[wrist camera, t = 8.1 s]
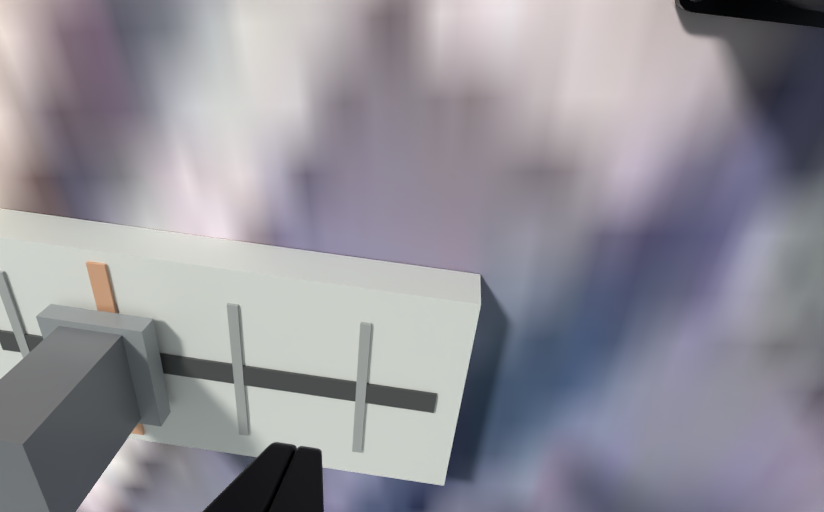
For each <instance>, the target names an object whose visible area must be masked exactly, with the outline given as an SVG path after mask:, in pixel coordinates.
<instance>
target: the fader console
mask: <svg viewBox="0 0 824 512" xmlns="http://www.w3.org/2000/svg"><path fill="white" fill-rule="evenodd" d="M50 304H55V305H62V306H69V307H76V308H83V309H90V310H97V311H104V312H111V313H118V314H125V315H132V316H139V317H146V318H153V320H154V325H155V331H156V336H157V341H158V347H159V352H160V357H161V363H162V368H163V373H164V379H165V384H166V390H167V395H168V400H169V406H170V411H171V412H170V414H169V415H168V417H167V418H166V420H165V422H164V423H163V425H162V426H161V427H160V426H154V425H147V424H140V423H138V424H137V425H136V427H135V428H134V430H133V431H132V432H131V434H130V435H129V437H128V438H133V439H139V440H146V441H152V442H159V443H166V444H172V445H179V446H185V447H192V448H199V449H205V450H212V451H218V452H225V453H232V454H238V455H245V456H251V457H258V456H259V455H260V454H261V453H262V452H263V451H264V450H265V449H266V448H267V447H268V446H269V445H270V444H271V443H274V442H281V443H287V444H293V445H295V446H296V447H297V448H298V447H299V446H306V447H313V448H319V449H320V450H321V451H322V467H324V468H331V469H337V470H344V471H351V472H357V473H364V474H370V475H377V476H384V477H390V478H397V479H403V480H410V481H417V482H423V483H430V484H436V485H443V486H444V483H445V478H446V473H447V468H448V463H449V458H450V453H451V449H452V444H453V439H454V434H455V429H456V424H457V419H458V415H459V410H460V405H461V400H462V395H463V390H464V385H465V381H466V376H467V371H468V366H469V361H470V356H471V351H472V347H473V342H474V337H475V332H476V327H477V322H478V317H479V312H480V308H481V281H480V274H474V273H466V272H459V271H452V270H445V269H437V268H430V267H423V266H416V265H408V264H401V263H394V262H386V261H379V260H372V259H365V258H357V257H350V256H343V255H336V254H328V253H321V252H314V251H306V250H299V249H292V248H285V247H277V246H270V245H263V244H256V243H248V242H241V241H234V240H226V239H219V238H212V237H205V236H197V235H190V234H183V233H176V232H168V231H161V230H154V229H146V228H139V227H132V226H125V225H117V224H110V223H103V222H96V221H88V220H81V219H74V218H67V217H59V216H52V215H45V214H37V213H30V212H23V211H16V210H8V209H1V208H0V379H1V378H2V377H3V376H4V375H5V374H7V373H8V372H9V371H10V370H11V369H12V368H13V367H14V366H15V365H16V364H18V363H19V362H20V361H21V360H22V359H23V358H24V357H25V356H26V355H27V354H29V353H30V352H31V351H32V350H33V349H34V348H35V347H36V346H37V345H38V344H40V343H41V342H42V341H43V337H42V334H41V331H40V328H39V325H38V321H37V318H36V316H37V315H38V314H39V313H40V312H42V311H43V310H44V309H45V308H46V307H48V306H49V305H50Z"/></svg>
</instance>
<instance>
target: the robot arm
mask: <svg viewBox="0 0 824 512" xmlns="http://www.w3.org/2000/svg"><path fill="white" fill-rule="evenodd" d="M675 3H676V5H677V6H678V7H679V8H680V9H683V10H686V11H689V12H695V13H703V14H711V15H720V16H728V17H736V18H745V19H753V20H762V21H770V22H778V23H787V24H795V25H804V26H812V27H820V28H824V0H695V1H690V0H675ZM203 512H324V505H323V471H322V451H321V450H320V449H319V448H313V447H306V446H299V447H298V448H297V447H296V446H295V445H293V444H287V443H281V442H274V443H271V444H270V445H269V446H268V447H267V448H266V449H265V450H264V451H263V452H262V453H261V454H260V455H259V456H258V457H257V458H256V459H255V460H254V461H253V462H252V463H251V464H250V465H249V466H248V467H247V468H246V469H245V470H244V471H243V472H242V473H241V474H240V475H239V476H238V477H237V478H236V479H235V480H234V481H233V482H232V483H231V484H230V485H229V486H228V487H227V488H226V489H225V490H224V491H223V492H222V493H221V494H220V495H219V496H218V497H217V498H216V499H215V500H214V501H213V502H212V503H211V504H210V505H209V506H208V507H207V508H206V509H205V510H204V511H203Z"/></svg>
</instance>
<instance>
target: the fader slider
mask: <svg viewBox="0 0 824 512" xmlns="http://www.w3.org/2000/svg"><path fill="white" fill-rule="evenodd" d="M36 318H37V321H38V325H39V328H40V331H41V334H42V337H43V341H42V342H41V343H40V344H38V345H37V346H36V347H35V348H34V349H33V350H32V351H31V352H30V353H29V354H27V355H26V356H25V357H24V358H23V359H22V360H21V361H20V362H19V363H18V364H16V365H15V366H14V367H13V368H12V369H11V370H10V371H9V372H8V373H7V374H5V375H4V376H3V377H2V378H1V379H0V512H76V510H77V509H78V507H79V506H80V505H81V503H82V502H83V500H84V499H85V498H86V496H87V495H88V493H89V492H90V490H91V489H92V488H93V486H94V485H95V483H96V482H97V481H98V479H99V478H100V476H101V475H102V473H103V472H104V471H105V469H106V468H107V466H108V465H109V464H110V462H111V461H112V459H113V458H114V456H115V455H116V454H117V452H118V451H119V449H120V448H121V447H122V445H123V444H124V442H125V441H126V439H127V438H128V437H129V435H130V434H131V432H132V431H133V430H134V428H135V427H136V425H137V424H138V423H140V424H147V425H154V426H160V427H161V426H162V425H163V423H164V422H165V420H166V418H167V417H168V415H169V414H170V412H171V411H170V406H169V400H168V395H167V390H166V384H165V379H164V373H163V368H162V363H161V357H160V352H159V347H158V341H157V336H156V331H155V325H154V320H153V318H146V317H139V316H132V315H125V314H118V313H111V312H104V311H97V310H90V309H83V308H76V307H69V306H62V305H55V304H50V305H49V306H48V307H46V308H45V309H44V310H43V311H42V312H40V313H39V314H38V315H37V316H36Z"/></svg>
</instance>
